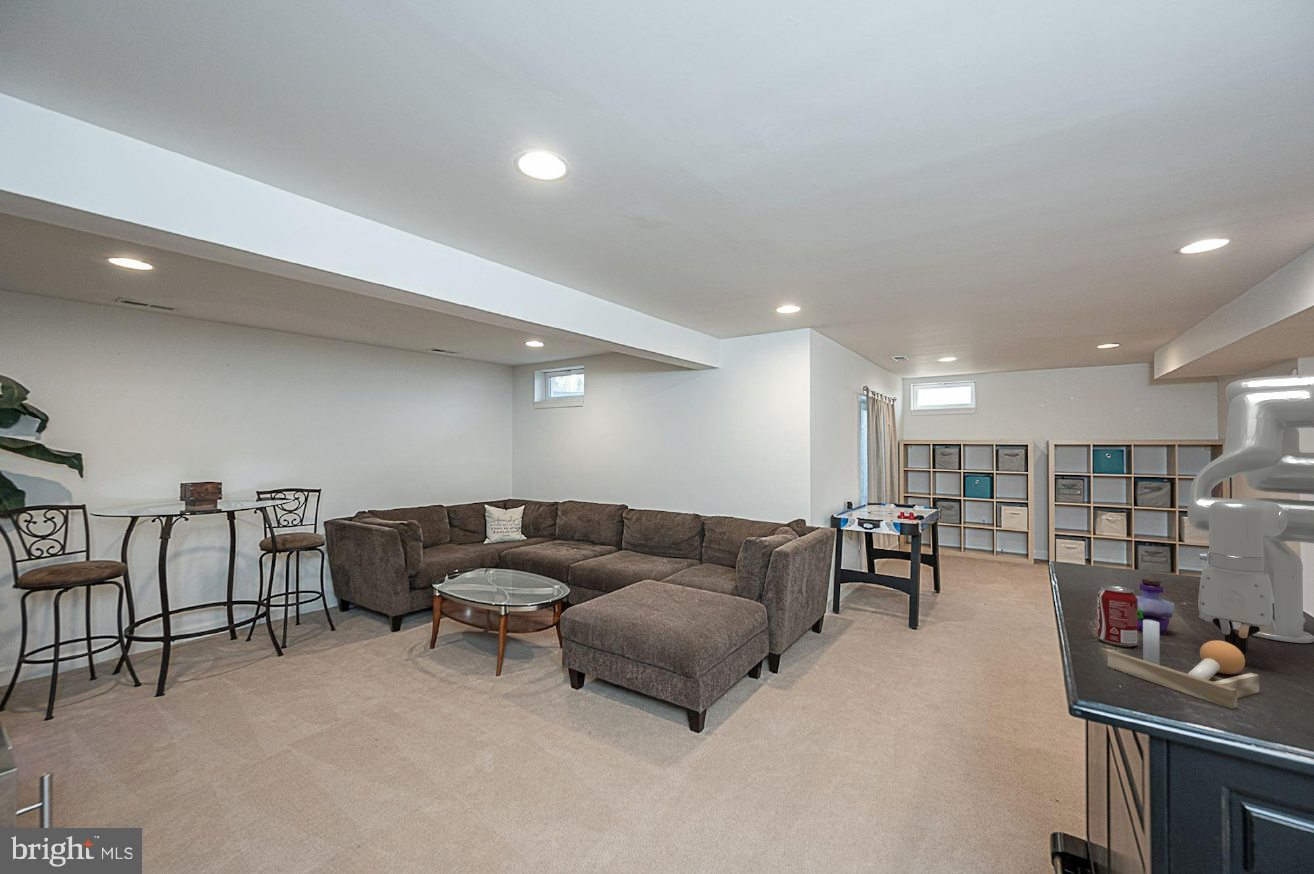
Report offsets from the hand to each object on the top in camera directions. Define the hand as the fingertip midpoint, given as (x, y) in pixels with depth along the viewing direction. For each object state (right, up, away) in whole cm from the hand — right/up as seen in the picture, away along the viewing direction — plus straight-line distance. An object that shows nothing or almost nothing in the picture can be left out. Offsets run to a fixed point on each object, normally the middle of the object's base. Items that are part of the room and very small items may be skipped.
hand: (1236, 654), depth 109 cm
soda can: (-15, -2, +10) cm, 18 cm away
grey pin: (-19, -1, -2) cm, 19 cm away
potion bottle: (+1, -2, +19) cm, 20 cm away
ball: (-8, +2, -5) cm, 10 cm away
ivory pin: (-13, +1, -8) cm, 15 cm away
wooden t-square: (-19, -1, -9) cm, 21 cm away
